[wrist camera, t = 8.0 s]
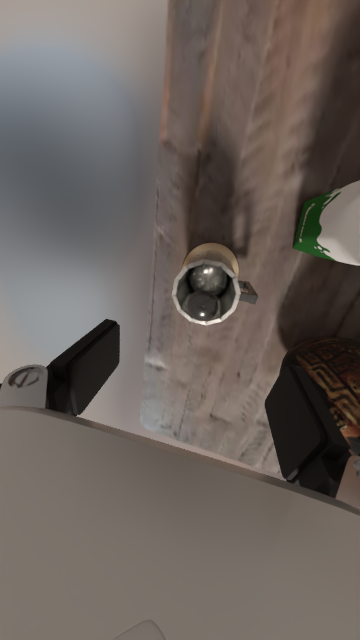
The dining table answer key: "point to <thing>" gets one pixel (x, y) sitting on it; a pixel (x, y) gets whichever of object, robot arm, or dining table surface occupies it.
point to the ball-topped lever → (205, 291)
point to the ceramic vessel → (333, 380)
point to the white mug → (225, 297)
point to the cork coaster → (214, 247)
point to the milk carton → (332, 225)
